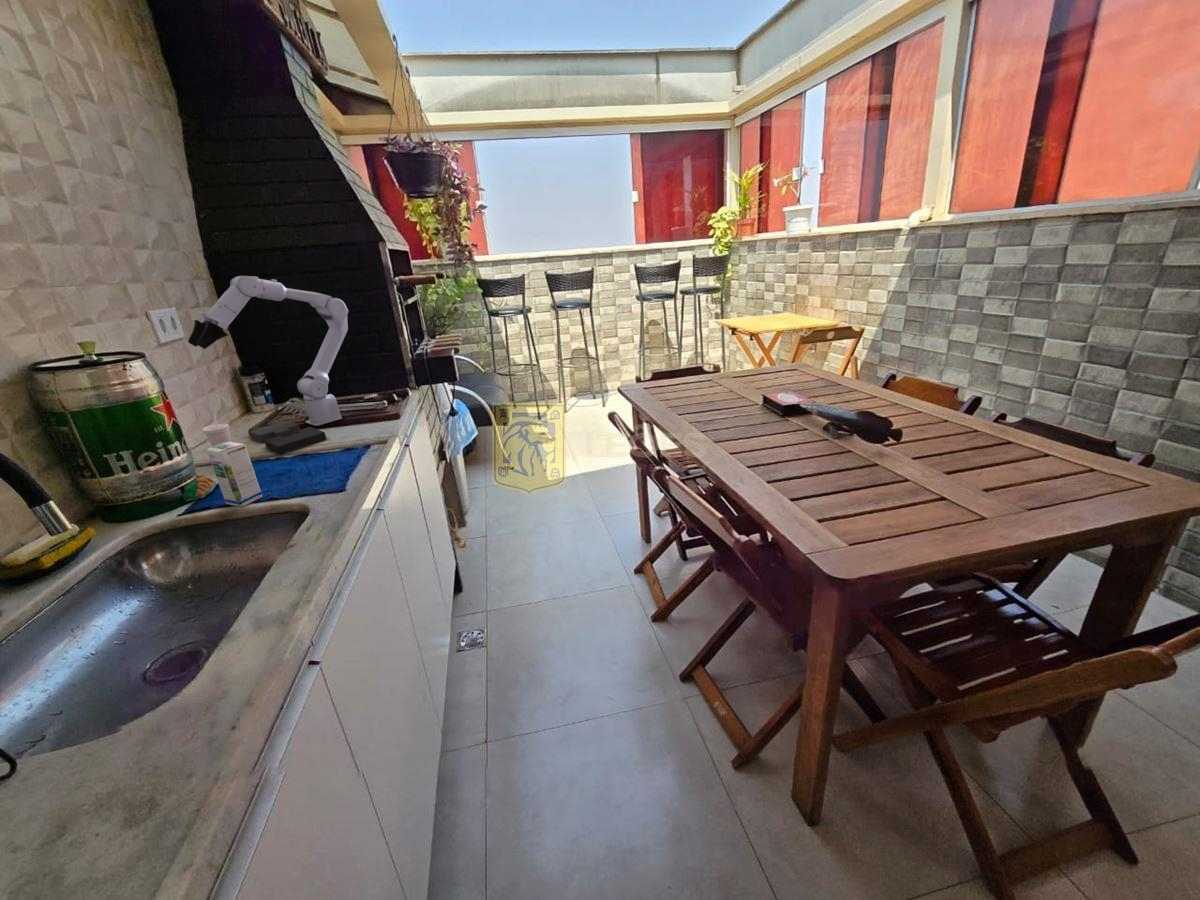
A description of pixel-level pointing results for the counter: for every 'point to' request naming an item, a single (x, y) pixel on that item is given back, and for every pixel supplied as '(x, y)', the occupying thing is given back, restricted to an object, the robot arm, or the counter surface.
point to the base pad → (295, 440)
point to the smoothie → (217, 433)
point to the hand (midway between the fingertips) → (196, 345)
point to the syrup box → (234, 472)
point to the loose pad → (275, 431)
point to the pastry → (204, 486)
